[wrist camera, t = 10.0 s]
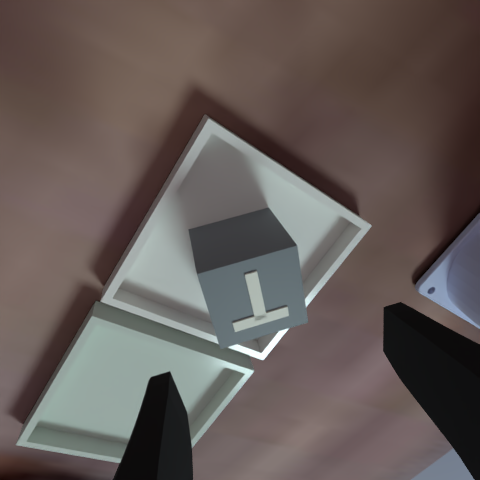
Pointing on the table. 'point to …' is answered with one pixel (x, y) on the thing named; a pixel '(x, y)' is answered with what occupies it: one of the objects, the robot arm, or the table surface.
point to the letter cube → (249, 276)
